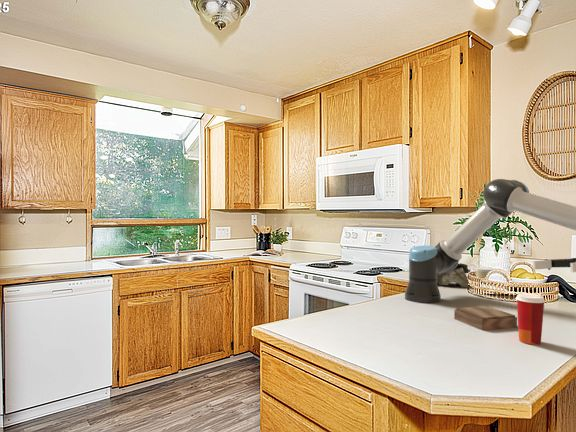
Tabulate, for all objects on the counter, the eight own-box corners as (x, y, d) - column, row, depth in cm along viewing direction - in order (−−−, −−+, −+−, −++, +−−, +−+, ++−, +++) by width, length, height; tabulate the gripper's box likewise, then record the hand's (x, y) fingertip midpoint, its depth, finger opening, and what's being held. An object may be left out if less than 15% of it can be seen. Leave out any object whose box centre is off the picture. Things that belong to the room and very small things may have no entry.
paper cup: (542, 339, 122) (543, 294, 121) (546, 347, 115) (547, 299, 114) (513, 336, 125) (514, 292, 125) (515, 343, 118) (516, 296, 118)
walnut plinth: (482, 330, 131) (482, 318, 131) (454, 318, 145) (454, 307, 145) (516, 327, 135) (517, 315, 134) (486, 316, 148) (486, 305, 148)
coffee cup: (492, 291, 194) (492, 267, 194) (500, 295, 184) (500, 270, 184) (472, 291, 195) (472, 266, 194) (479, 295, 185) (479, 269, 185)
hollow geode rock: (414, 291, 216) (412, 274, 206) (415, 273, 224) (413, 255, 214) (471, 294, 205) (472, 276, 195) (470, 274, 213) (470, 256, 204)
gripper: (650, 276, 116) (591, 282, 111) (572, 271, 140) (521, 275, 136) (647, 251, 116) (588, 255, 112) (570, 249, 141) (519, 253, 136)
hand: (551, 266), depth 124 cm, fingers open, 13 cm apart
